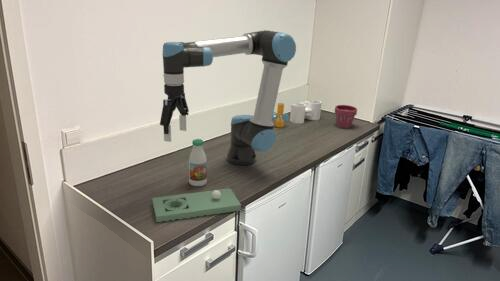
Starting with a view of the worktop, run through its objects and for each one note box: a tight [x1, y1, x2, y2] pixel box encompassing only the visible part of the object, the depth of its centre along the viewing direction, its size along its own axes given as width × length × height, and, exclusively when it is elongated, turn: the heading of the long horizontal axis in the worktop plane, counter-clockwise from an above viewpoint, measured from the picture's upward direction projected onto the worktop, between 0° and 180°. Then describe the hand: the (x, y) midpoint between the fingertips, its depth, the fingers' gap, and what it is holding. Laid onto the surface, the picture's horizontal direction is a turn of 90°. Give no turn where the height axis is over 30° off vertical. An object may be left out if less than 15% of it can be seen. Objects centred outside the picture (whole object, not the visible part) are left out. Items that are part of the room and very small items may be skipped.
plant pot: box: [334, 104, 358, 129], centre depth 251 cm, size 14×14×13 cm
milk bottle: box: [188, 138, 208, 187], centre depth 164 cm, size 8×8×20 cm
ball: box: [212, 189, 221, 199], centre depth 150 cm, size 4×4×4 cm
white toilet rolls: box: [289, 99, 322, 125], centre depth 261 cm, size 25×10×12 cm, turn 130°
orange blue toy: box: [272, 102, 290, 128], centre depth 245 cm, size 12×10×15 cm
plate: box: [151, 187, 242, 223], centre depth 148 cm, size 32×14×2 cm, turn 110°
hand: (175, 135), depth 154 cm, fingers open, 13 cm apart
